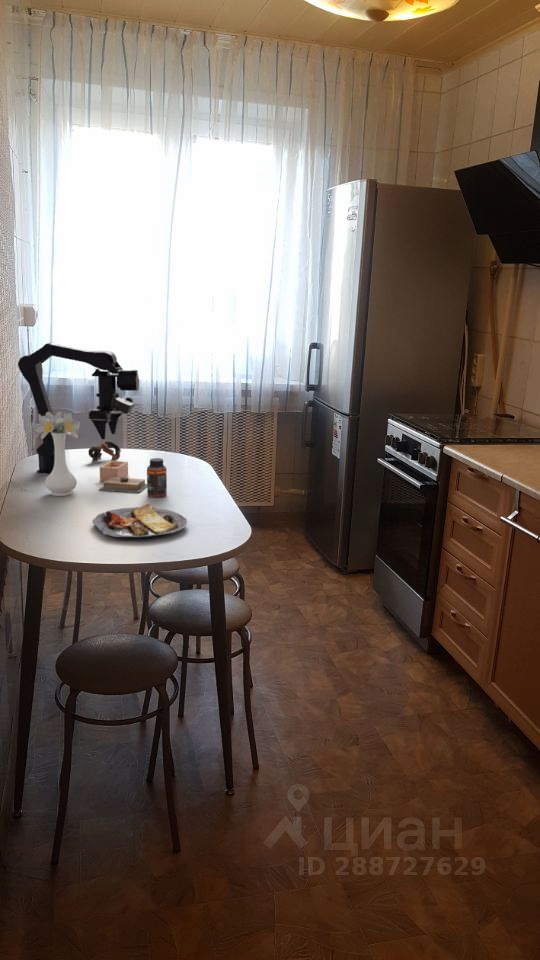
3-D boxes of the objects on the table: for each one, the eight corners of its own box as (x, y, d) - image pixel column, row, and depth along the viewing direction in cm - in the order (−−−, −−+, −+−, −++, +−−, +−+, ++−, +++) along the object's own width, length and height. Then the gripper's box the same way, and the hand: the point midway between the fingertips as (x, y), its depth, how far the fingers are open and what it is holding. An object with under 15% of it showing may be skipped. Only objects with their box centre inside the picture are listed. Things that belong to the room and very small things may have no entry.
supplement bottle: (170, 494, 235) (170, 458, 233) (160, 499, 230) (159, 462, 227) (154, 491, 238) (153, 456, 235) (143, 496, 233) (142, 460, 230)
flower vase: (85, 485, 243) (83, 407, 237) (78, 501, 226) (75, 417, 219) (43, 485, 242) (39, 406, 235) (33, 501, 224) (28, 417, 218)
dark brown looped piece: (104, 458, 283) (114, 439, 281) (117, 473, 279) (128, 455, 276) (78, 454, 274) (89, 436, 271) (92, 470, 269) (102, 451, 266)
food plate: (83, 519, 209) (82, 507, 208) (163, 510, 220) (163, 498, 219) (112, 549, 188) (112, 536, 187) (199, 537, 199) (199, 525, 198)
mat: (98, 490, 238) (98, 489, 238) (110, 482, 247) (110, 481, 247) (139, 493, 236) (139, 491, 236) (149, 485, 245) (149, 483, 245)
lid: (137, 490, 237) (137, 481, 237) (103, 488, 239) (103, 479, 238) (144, 484, 244) (144, 476, 243) (112, 482, 246) (111, 474, 245)
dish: (99, 480, 249) (99, 467, 248) (111, 473, 259) (110, 460, 257) (117, 482, 248) (117, 468, 247) (128, 474, 258) (127, 461, 257)
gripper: (120, 395, 243) (121, 443, 246) (139, 387, 260) (140, 432, 264) (87, 393, 244) (88, 441, 248) (108, 386, 262) (109, 431, 266)
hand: (108, 436), depth 257 cm, fingers open, 9 cm apart
